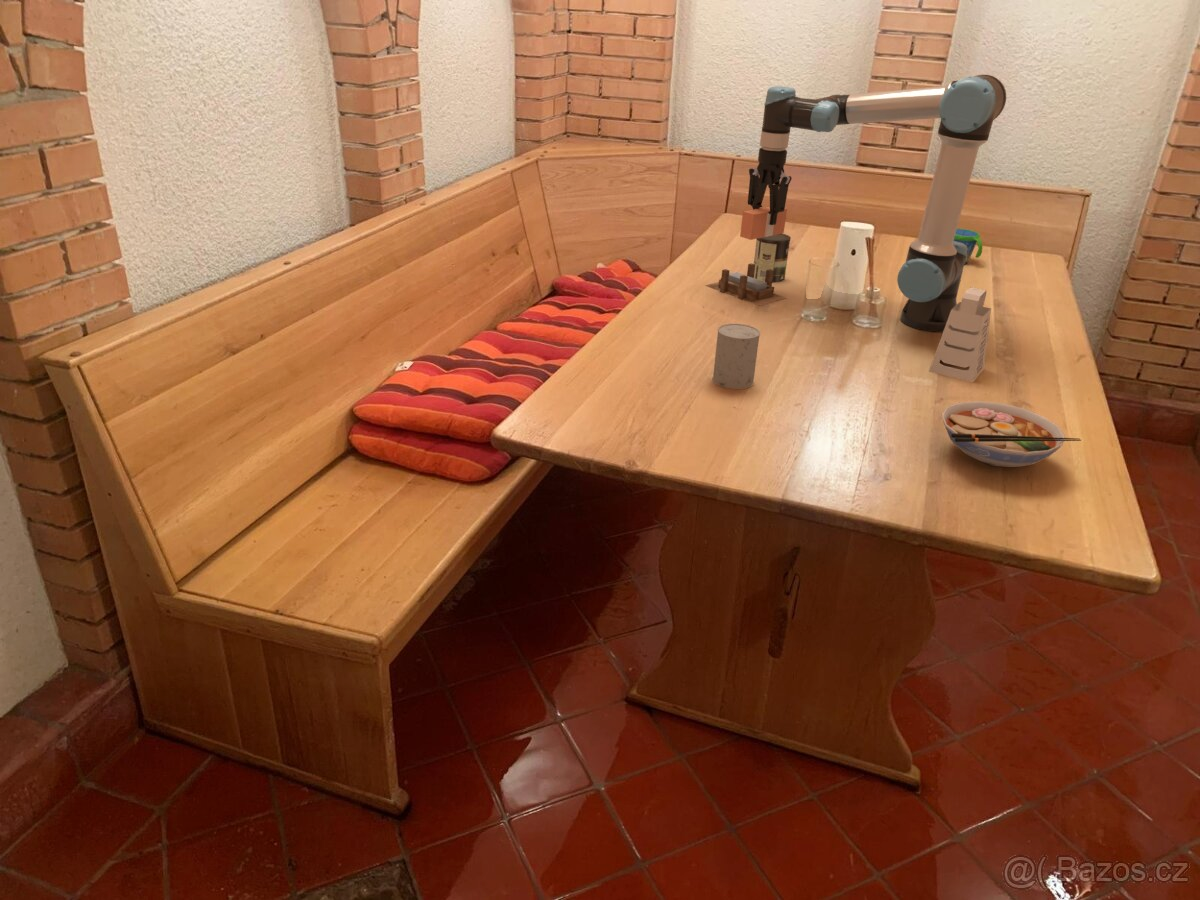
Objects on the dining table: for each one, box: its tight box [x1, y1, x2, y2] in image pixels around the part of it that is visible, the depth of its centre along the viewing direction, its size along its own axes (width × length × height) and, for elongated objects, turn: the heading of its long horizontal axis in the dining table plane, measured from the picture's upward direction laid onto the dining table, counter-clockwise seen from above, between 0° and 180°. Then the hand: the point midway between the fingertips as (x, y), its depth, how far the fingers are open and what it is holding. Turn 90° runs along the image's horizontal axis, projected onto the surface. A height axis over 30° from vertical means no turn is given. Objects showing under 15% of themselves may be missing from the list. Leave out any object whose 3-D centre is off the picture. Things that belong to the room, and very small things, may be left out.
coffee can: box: [753, 233, 792, 283], centre depth 279 cm, size 10×10×14 cm
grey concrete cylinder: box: [712, 323, 761, 390], centre depth 209 cm, size 10×10×12 cm
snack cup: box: [954, 228, 983, 265], centre depth 308 cm, size 16×10×10 cm
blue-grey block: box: [728, 272, 767, 291], centre depth 267 cm, size 12×4×4 cm, turn 39°
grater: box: [928, 287, 992, 383], centre depth 218 cm, size 10×10×20 cm
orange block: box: [739, 206, 788, 241], centre depth 255 cm, size 4×14×7 cm, turn 130°
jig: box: [704, 262, 788, 306], centre depth 267 cm, size 22×13×8 cm, turn 39°
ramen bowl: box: [941, 400, 1082, 468], centre depth 180 cm, size 25×23×8 cm
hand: (762, 233), depth 257 cm, fingers closed on orange block, 4 cm apart
